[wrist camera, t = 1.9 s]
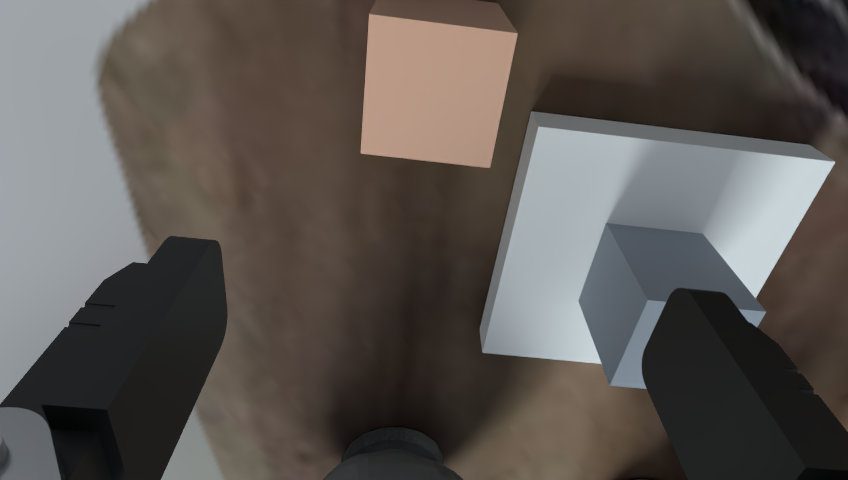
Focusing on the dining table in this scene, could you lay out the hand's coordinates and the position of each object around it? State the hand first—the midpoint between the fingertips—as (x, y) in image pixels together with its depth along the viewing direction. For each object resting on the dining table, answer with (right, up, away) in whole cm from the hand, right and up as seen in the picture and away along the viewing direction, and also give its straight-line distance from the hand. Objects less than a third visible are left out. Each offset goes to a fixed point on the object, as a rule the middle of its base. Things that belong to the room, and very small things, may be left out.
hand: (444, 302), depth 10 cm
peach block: (0, +9, +15) cm, 17 cm away
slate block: (+11, 0, +19) cm, 21 cm away
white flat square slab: (+11, +1, +20) cm, 23 cm away
